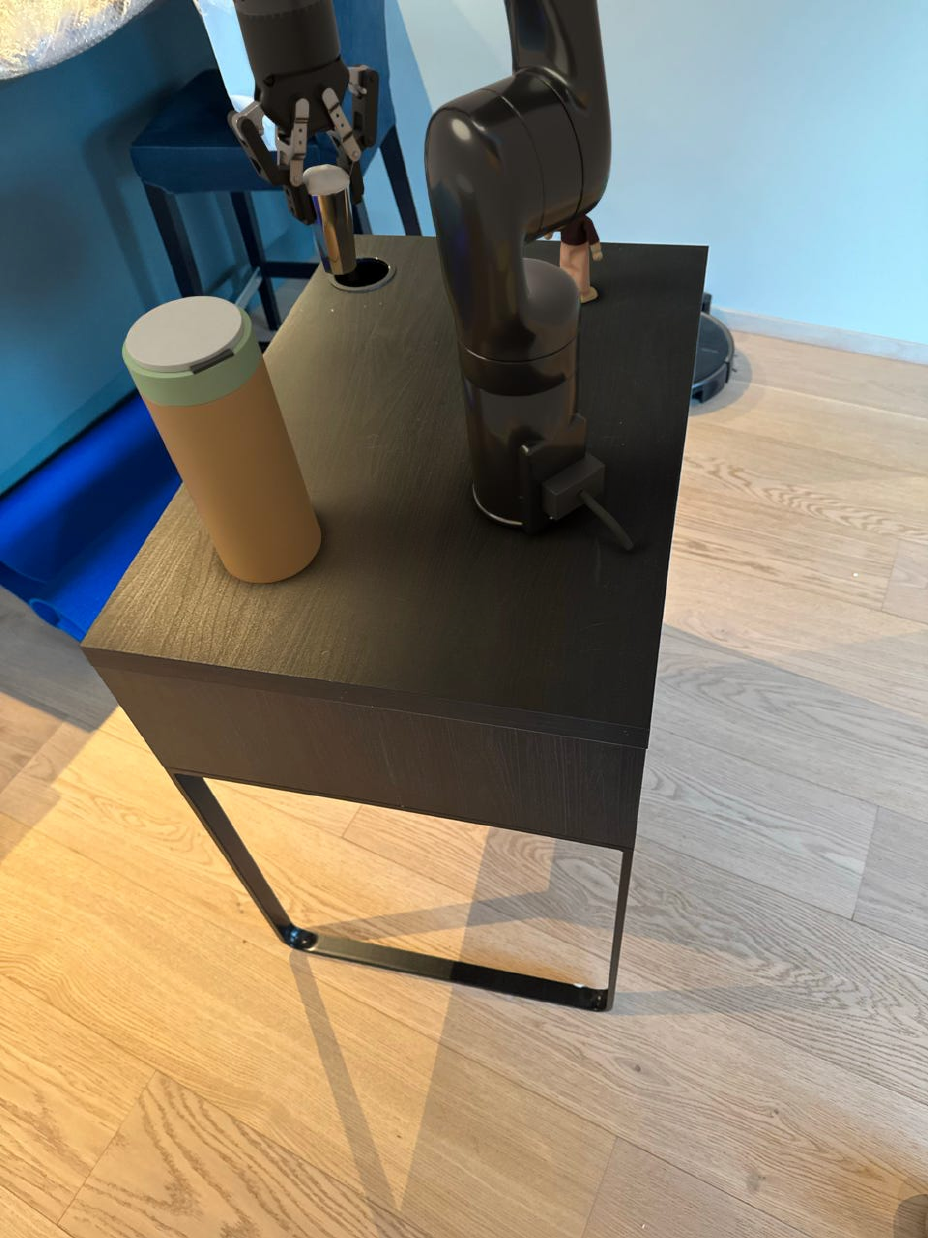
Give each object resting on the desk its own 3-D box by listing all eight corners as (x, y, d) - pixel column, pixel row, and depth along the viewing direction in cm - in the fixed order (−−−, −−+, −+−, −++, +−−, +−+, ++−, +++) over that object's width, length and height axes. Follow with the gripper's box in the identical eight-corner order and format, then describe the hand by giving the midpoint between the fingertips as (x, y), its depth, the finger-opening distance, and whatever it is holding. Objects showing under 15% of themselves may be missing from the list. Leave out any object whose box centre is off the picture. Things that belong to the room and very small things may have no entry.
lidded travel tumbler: (204, 541, 76) (98, 328, 58) (290, 494, 78) (213, 276, 61) (250, 600, 71) (149, 388, 54) (340, 548, 74) (272, 329, 56)
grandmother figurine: (611, 291, 94) (618, 174, 83) (596, 309, 92) (600, 192, 82) (551, 275, 96) (550, 161, 86) (534, 293, 95) (531, 178, 85)
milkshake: (369, 277, 80) (351, 167, 72) (313, 279, 80) (290, 170, 73) (373, 253, 83) (357, 145, 75) (320, 256, 83) (298, 149, 76)
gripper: (219, 31, 60) (283, 256, 74) (384, -27, 65) (416, 196, 78) (177, 9, 64) (244, 226, 78) (334, -44, 69) (372, 171, 82)
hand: (330, 210), depth 78 cm, fingers closed on milkshake, 4 cm apart
